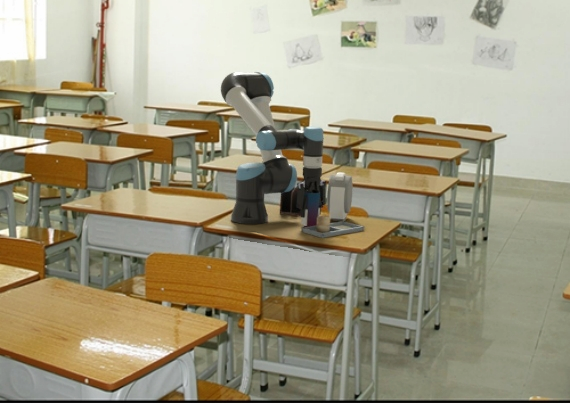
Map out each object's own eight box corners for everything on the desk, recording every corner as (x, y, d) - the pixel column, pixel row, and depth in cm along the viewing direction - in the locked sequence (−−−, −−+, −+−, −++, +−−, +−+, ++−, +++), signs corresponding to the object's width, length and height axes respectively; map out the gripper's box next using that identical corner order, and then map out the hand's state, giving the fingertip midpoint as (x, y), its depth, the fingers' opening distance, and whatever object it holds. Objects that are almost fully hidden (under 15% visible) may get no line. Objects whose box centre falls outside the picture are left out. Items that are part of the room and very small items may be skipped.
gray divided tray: (301, 234, 309) (301, 227, 308) (342, 227, 323) (343, 221, 323) (322, 240, 300) (322, 233, 300) (363, 232, 315) (363, 226, 314)
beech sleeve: (313, 232, 308) (314, 217, 307) (323, 230, 311) (323, 215, 310) (322, 234, 304) (323, 219, 303) (332, 233, 308) (332, 218, 307)
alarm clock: (332, 215, 345) (334, 169, 341) (351, 216, 344) (353, 170, 340) (325, 224, 328) (327, 175, 324) (346, 225, 326) (348, 176, 322)
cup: (317, 231, 315) (318, 193, 312) (300, 229, 316) (301, 192, 313) (319, 227, 321) (321, 190, 318) (303, 226, 322) (304, 189, 320)
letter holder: (279, 214, 345) (280, 182, 342) (292, 206, 364) (293, 175, 361) (301, 216, 342) (302, 184, 339) (313, 208, 361) (314, 177, 358)
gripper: (300, 169, 305) (298, 228, 309) (336, 166, 317) (333, 223, 321) (287, 167, 310) (285, 225, 315) (323, 163, 323) (321, 219, 327)
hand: (310, 224), depth 318 cm, fingers closed on cup, 6 cm apart
